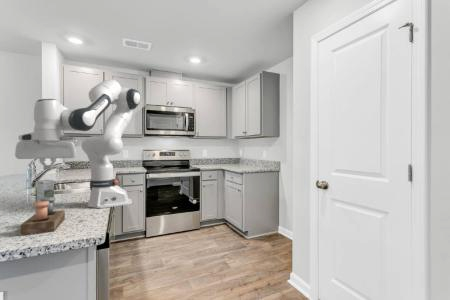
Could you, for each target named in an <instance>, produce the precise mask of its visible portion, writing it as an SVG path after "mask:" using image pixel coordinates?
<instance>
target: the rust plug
mask: <svg viewBox="0 0 450 300" xmlns="http://www.w3.org/2000/svg"><path fill="white" fill-rule="evenodd" d="M48 205H49V201H42V202H36V203H35V202H34V203H33V205H32V206H33V208H35V212H34V215H35V220H42V219H46V218H47V206H48Z"/></svg>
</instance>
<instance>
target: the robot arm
mask: <svg viewBox="0 0 450 300" xmlns="http://www.w3.org/2000/svg"><path fill="white" fill-rule="evenodd" d="M88 99H89V101H90V102H91V103H90V104H89V105H88V106H87V107H82V108H75V109H74V108H73V109H70V108H67V107H66V106H64V105H63V104H62V103H61V102H60V101H59V100H58V99H55V98H41V99H40V98H39V99H38V100H37V101H35V103H34V107H33V120H34V127H33V132H28V133H23V134H20V135H18V140H19V141H18V142H17V143H16V145H15V152H14V156H15V157H16V159H18V160H32V159H35V160H39V162H40V164H41V165H42V169H43V170H53V169H54V167H53V165H55V163H56V161H57V159H75V158H77V156H78V155H77V148H76V147H77V146H78V141H77V139H76V138H74V137H70V136H69V137H66V136H62V135H61V134H62V133H61V132H62V131H67V132H69V131H71V132H72V131H73V132H74V131H78V132H79V131H80V132H87V131H90V130H92V129H93V128H94V127H95V125H96V123H97V120H98V119H99V118H100V117H101V115H102V114H103V113H105V111H106V110H107V109H108V108H110V106H111V105H116V107H115V109H114V110H112V111H113V112H111V114H110V115H109V117H108V118H107V120H106V121H105V122H104V124H103V129H104V132H103V134H102V135H92V136H88V137H86V138H84V140H82V142H81V149H82V151H83V152H84V153H85V154H86V156H87V158H88V161H89V165H90V181H89V189H90V190H89V191H90V193H89V194H90V195H89V200H88V203H87V207H88V208H97V209H105V208H106V209H107V208H113V207H118V206H119V207H121V206H127V205H130V204H132V202H133V200H132V199H133V198H130V197H129V195H128V192H127V190H125V189H124V188H122V187H120V186H119V185H118V183H119V181H118V180H117V179H115V178H114V164H112V163H111V161H110V160H109V157H108V156H115V155H118V154H120V153H121V152H122V151H123V148H124V143H123V140H122V136H123V134H124V132H125V130H126V128H127V127H128V125H129V123H130V121H131V119H132V118H133V114H134V113H133V112H134V111H133V110H135V109H136V108H137V107H138V106H139V105H140V103H141V100H142V97H141V93H140V92H139V90H137V89H135V88H129V87H124V86H123V87H122V86H121V84H120V83H119V82H118V81H117V80H115V79H112V78H111V79H106V80H103V81H101V82H98V84H96V85H95V86H93V87H92V88H91V89H90V90H89V91H88ZM46 159H49V160H50V164H46Z"/></svg>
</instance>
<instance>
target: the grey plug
mask: <svg viewBox="0 0 450 300" xmlns="http://www.w3.org/2000/svg"><path fill="white" fill-rule="evenodd" d="M42 201H49V205H48V206H47V214H50V213H53V212H54V211H55V209H54V206H55V202H56V197H55V196H54V197H47V198H42V199H41V202H42Z"/></svg>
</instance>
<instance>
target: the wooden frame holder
mask: <svg viewBox="0 0 450 300" xmlns="http://www.w3.org/2000/svg"><path fill="white" fill-rule="evenodd" d="M65 219H66V210H56V211H55V210H54V212H53V213H50V214H47V218H46V219H42V220H35V214H34V215H32V216H31V217H30V218H28V219H27V220H25V221H24V222H22V223H21V224H20V236H21V237H22V236H30V235H38V234H45V233H53V232H55V231H56V230H57V229H58V228H59V227H60V225H61V224H62V223H63V222H64V221H65Z"/></svg>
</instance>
